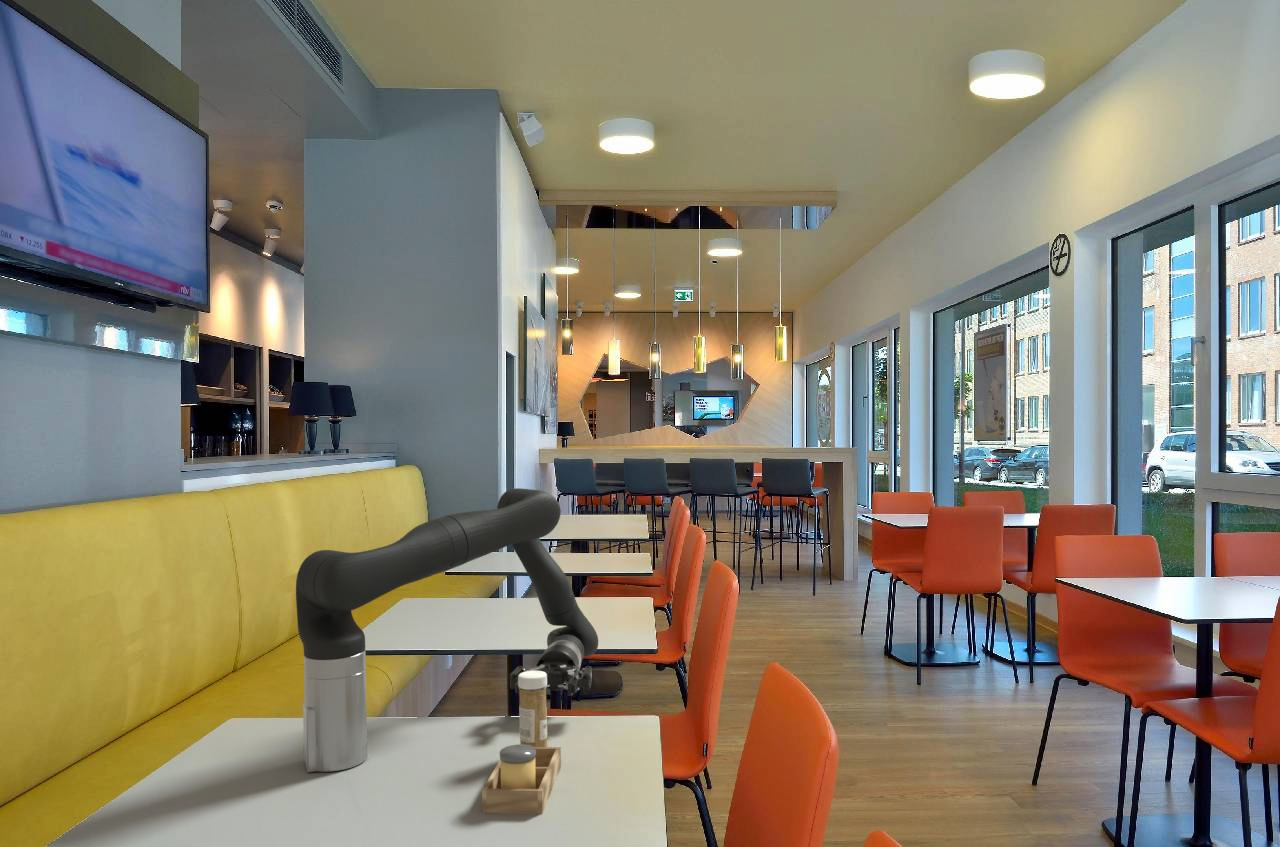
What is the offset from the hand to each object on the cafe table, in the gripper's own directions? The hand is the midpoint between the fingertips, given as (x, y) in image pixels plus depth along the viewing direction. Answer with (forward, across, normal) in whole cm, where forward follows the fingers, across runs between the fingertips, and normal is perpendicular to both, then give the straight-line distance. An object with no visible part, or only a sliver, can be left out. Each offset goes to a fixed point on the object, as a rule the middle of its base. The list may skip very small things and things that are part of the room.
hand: (544, 690), depth 148 cm
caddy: (+23, +1, +8) cm, 24 cm away
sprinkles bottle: (+11, 0, +8) cm, 13 cm away
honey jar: (+27, +1, +7) cm, 28 cm away
